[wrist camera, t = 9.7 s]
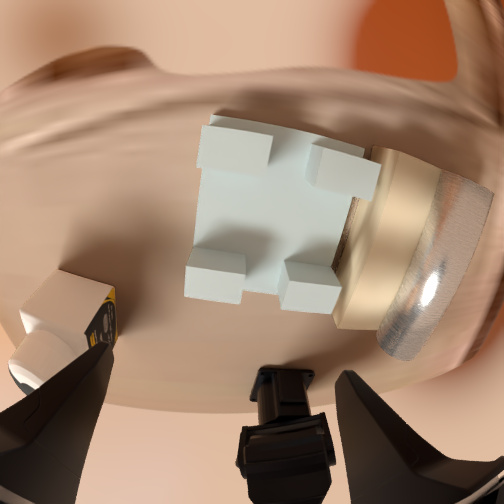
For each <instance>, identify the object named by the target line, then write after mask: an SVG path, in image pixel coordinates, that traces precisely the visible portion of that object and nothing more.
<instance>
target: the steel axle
mask: <svg viewBox="0 0 504 504" xmlns="http://www.w3.org/2000/svg"><path fill="white" fill-rule="evenodd" d="M493 197H494V193H493V192H491V191H490V190H488V189H486V188H485V187H483V186H481V185H479V184H477V183H475V182H473V181H471V180H469V179H467V178H465V177H462V176H460V175H458V174H455V173H453V172H450V171H447V170H444V169H442V171H441V174H440V178H439V182H438V185H437V189H436V192H435V196H434V199H433V202H432V206H431V209H430V212H429V215H428V218H427V221H426V224H425V226H424V229H423V232H422V235H421V237H420V240H419V243H418V245H417V248H416V250H415V253H414V255H413V258H412V260H411V263H410V265H409V267H408V270H407V272H406V274H405V276H404V279H403V281H402V283H401V285H400V287H399V290H398V292H397V294H396V296H395V298H394V300H393V302H392V304H391V306H390V308H389V310H388V312H387V314H386V316H385V318H384V320H383V322H382V323H381V325H380V327H379V329H378V331H377V333H376V338H377V341H378V343H379V345H380V346H381V348H382V349H383V350H384V351H385V352H386V353H388V354H389V355H391V356H392V357H394V358H397V359H400V360H404V361H410V360H413V359H415V358H416V357H417V356H418V355H419V353H420V352H421V350H422V349H423V347H424V346H425V344H426V343H427V341H428V340H429V338H430V337H431V335H432V333H433V332H434V330H435V329H436V327H437V325H438V324H439V322H440V320H441V318H442V317H443V315H444V313H445V311H446V310H447V308H448V306H449V304H450V302H451V301H452V299H453V297H454V295H455V293H456V291H457V289H458V287H459V285H460V283H461V281H462V279H463V277H464V275H465V272H466V270H467V268H468V266H469V263H470V261H471V259H472V257H473V254H474V252H475V249H476V247H477V244H478V242H479V239H480V236H481V234H482V231H483V228H484V225H485V222H486V220H487V216H488V213H489V210H490V207H491V204H492V200H493Z"/></svg>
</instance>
